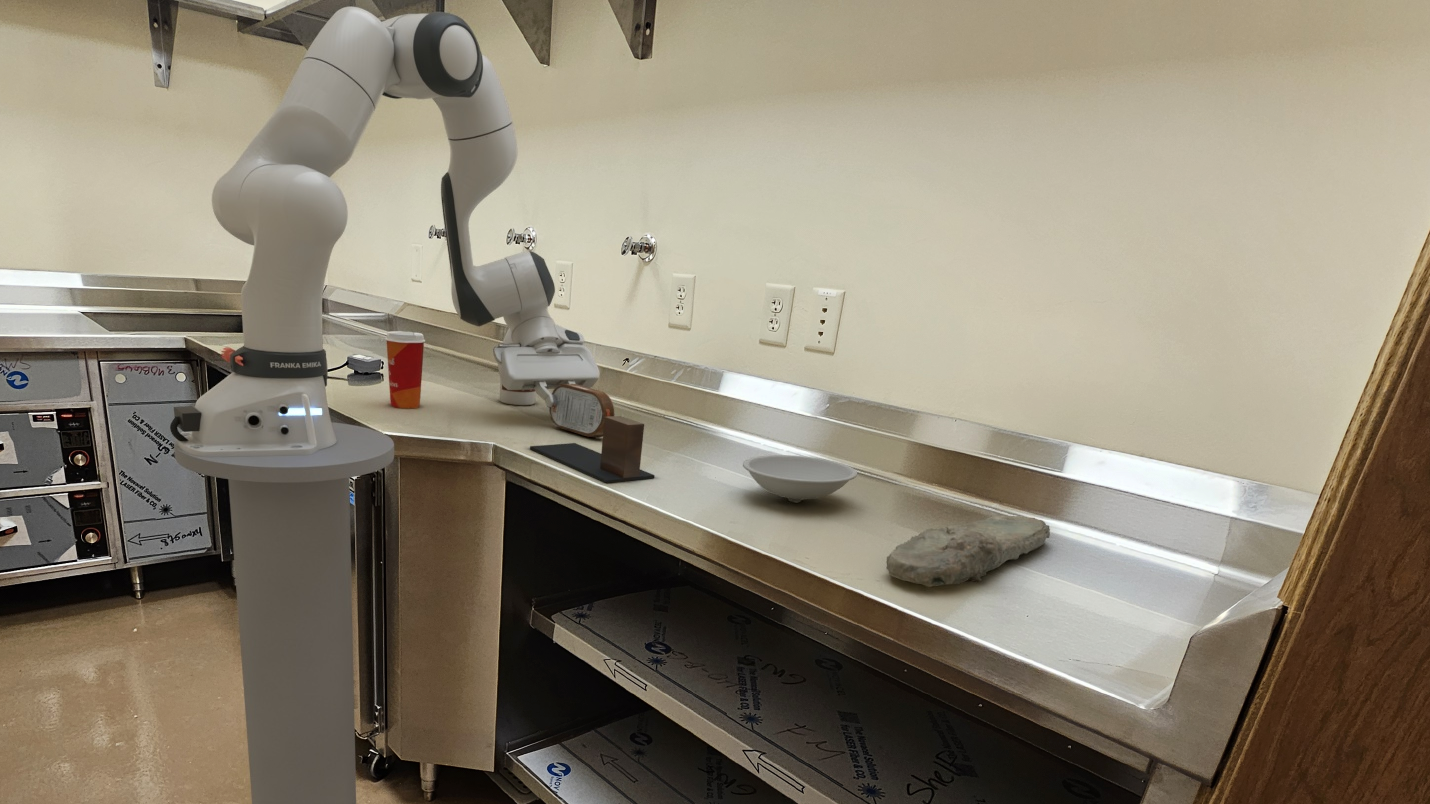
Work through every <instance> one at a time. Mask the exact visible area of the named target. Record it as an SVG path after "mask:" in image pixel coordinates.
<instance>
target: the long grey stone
mask: <svg viewBox="0 0 1430 804" xmlns="http://www.w3.org/2000/svg"><path fill="white" fill-rule="evenodd" d="M1050 532H1051V528H1050V525H1049V524H1046V522H1045V521H1044V520H1043V519H1038V518H1036V517H1027V516H1021V515H993V516H990V517H988V518H984V519H979V520H975V521H971V522H967V523H964V524H962V525H950V526H949V525H947V526H946V528H941V527H940V528H927V529H925V530H924V531H922V532H920V533H919V534H917V535H914V536H911V537H910V539H909V540H907V541H904V542H903V543H900V544H898V545H896V547H895V548H894V549H893V550H892V552H891V553H889V555H888V556H886V562H885V563H886V570H887V571H888V574H889V576H891V577H893V578H896V579H899V580H901V581H904V582H909V583H913V584H920V585H923V586H925V587H927V588H932V587H937V586H945V585H946V586H947V585H949V586H950V585H960V584H961V583H964V582H967V581H971V582H972V581H973V582H975V581H976V582H980V581H982V578H981V577H983V576H987V572H989V571H993V570H994V569H997V568H999V567H1001V565H1004V563H1005V562H1006V561H1008V560H1009V561H1010V560H1017V559H1019V557H1020V555H1023V554H1025V555H1026V554H1028V553H1029V552H1032V551H1035V550H1037V549H1038V548H1040V547H1041V546H1043V545H1045V542H1046V539H1049V538H1050V536H1051V533H1050Z"/></svg>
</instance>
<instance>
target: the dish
mask: <svg viewBox="0 0 1430 804" xmlns="http://www.w3.org/2000/svg"><path fill="white" fill-rule="evenodd" d="M742 467H743V468H744V469H745V470H746V471H748V473H749V474H750V476H751V477H752V478H753V480H754V481H755V482H756V483H757V485H758V486H760V487H761V489H763V490H764V491H767V492H768V493H770V494H773V495H775V496H779V497H782V498H786V499H788V502H789V501H790V502H792V503H800V502H801V501H802V500H813V499H819V498H824V497H827V496H829V495H831V494H833V493H835V492H837V491H839V490H840V489H842V488H843V487H844V486H845V485H847V483H848V482H849V481H852V480H854V479H855V478H857V476H858V472H857V470H856V469H855V468H854V467H851V466H850V465H847V464H845V463H841V462H838V461H834V460H830V459H824V458H820V457H813V456H803V455H791V454H778V455H777V454H772V455H771V454H770V455H769V454H768V455H759V456H754V457H749V458H747V459H745V460H744V461H743V462H742Z"/></svg>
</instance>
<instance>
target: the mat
mask: <svg viewBox="0 0 1430 804" xmlns="http://www.w3.org/2000/svg"><path fill="white" fill-rule="evenodd" d="M529 450H530V451H533V452H536V453H538V454H540V455H542V456H544V457H547V458H549V459H551V460H553V461H556V462H557V463H560V464H563V465H565V466H567V467H569V468H572V469H573V470H576V471H579V472H580V473H582V474H584V475H587V476H590V477H592V478H594V479H596V480H598V481H600V482H602V483H605V484H613V483H621V482H623V483H624V482H630V481H641V480H642V481H643V480H650V479H655V474H653V473H651V472H648V471H645V470H643V469H641V468H640V472H639V477H631V478H622V477H619V476H617V475H615V474H612V473H610V472H607V471H605V470H603V469H600V464H601V452H599V451H596V450H593V449H591V448H588V447H586V446H583V445H581V444H579V443H576V442H570V443H569V442H568V443H556V444H543V445H540V444H539V445H530V446H529Z"/></svg>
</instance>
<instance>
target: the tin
mask: <svg viewBox="0 0 1430 804" xmlns="http://www.w3.org/2000/svg"><path fill="white" fill-rule="evenodd" d="M551 394H552V395H556V399H557V400H558V404H557V405H556V407H549V416H550V419H551V421H552V423H553V424H554V425H555V426H556V427H557V428H559V429H562V430H565V431H568V432H572V433H575V434H577V435H581V436H583V437H588V438H603V428H604V417H609V416H615V407H614V404H613V400H612V398H611V397H610V396H609V395H608V394H607V392H605V391H603V390H599V389H595V388H592V387H591V388H588V387H584V386H581V385H577V384H562V385H559V386H558V387H556V388H555V389H553V391H552V392H551Z"/></svg>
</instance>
